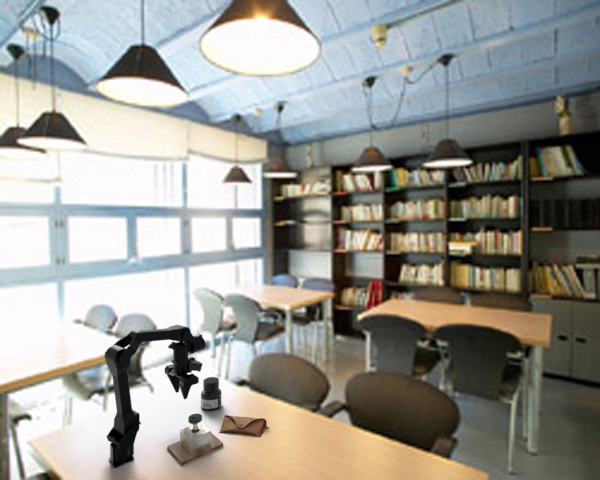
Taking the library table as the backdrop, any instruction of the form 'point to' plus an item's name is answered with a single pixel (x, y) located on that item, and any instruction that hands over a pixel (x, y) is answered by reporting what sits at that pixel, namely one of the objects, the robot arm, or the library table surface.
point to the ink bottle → (211, 394)
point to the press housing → (195, 438)
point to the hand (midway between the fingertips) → (181, 395)
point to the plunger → (195, 421)
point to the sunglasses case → (243, 425)
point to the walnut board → (185, 457)
